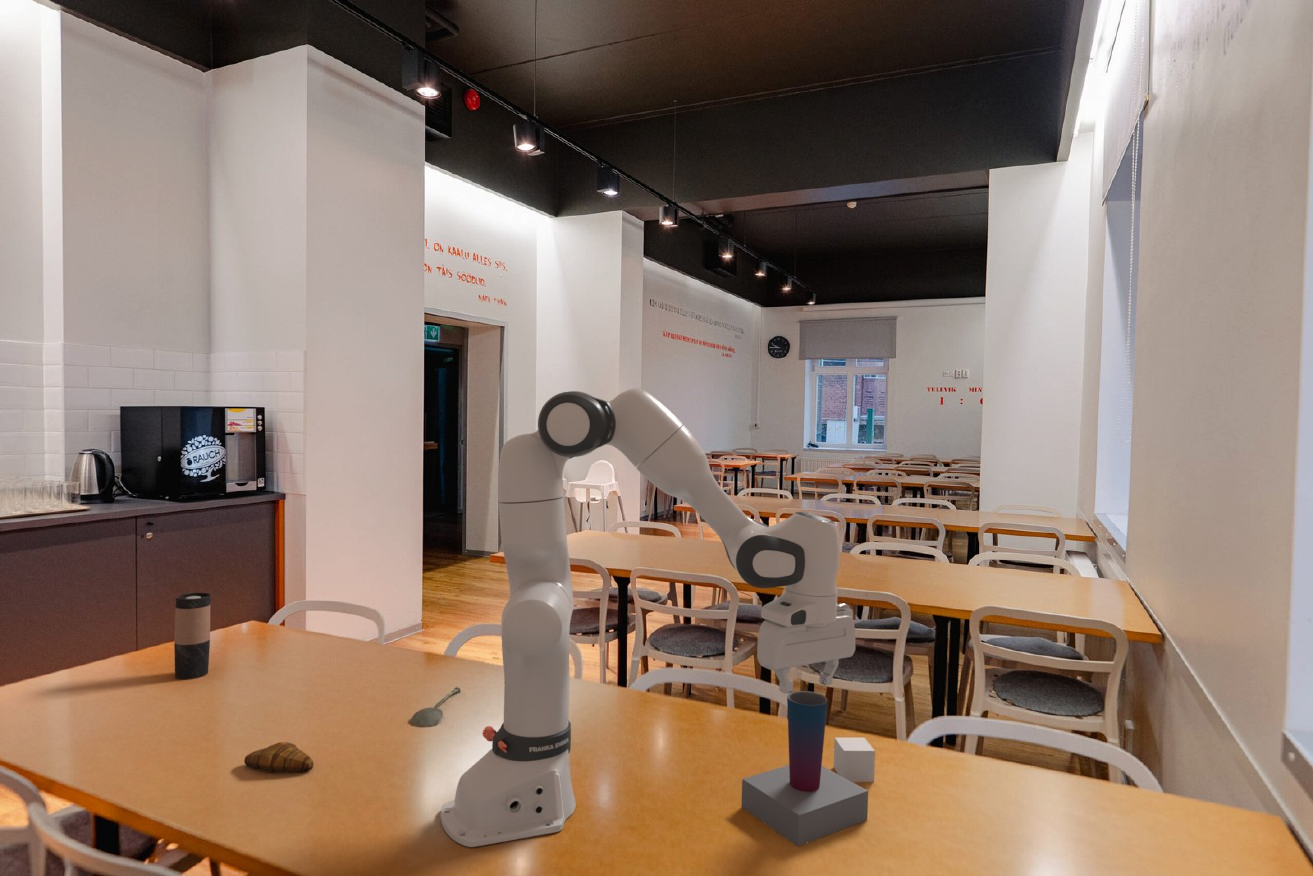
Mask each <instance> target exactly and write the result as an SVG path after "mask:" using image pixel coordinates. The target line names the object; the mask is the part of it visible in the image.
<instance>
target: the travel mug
mask: <svg viewBox="0 0 1313 876" xmlns="http://www.w3.org/2000/svg"><path fill="white" fill-rule="evenodd" d="M173 640H174V646H173V647H174V648H173V649H174V678H176V679H178V680H192V679H198V678H202V677H205V676H206V675H208V673H209V665H210V663H209V661H210V646H211V644H210V643H211V594H210V593H208V592H191V593H184V594H180V595H179V596H178V597H175V615H174V639H173Z"/></svg>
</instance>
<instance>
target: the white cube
mask: <svg viewBox="0 0 1313 876" xmlns="http://www.w3.org/2000/svg"><path fill="white" fill-rule="evenodd" d="M833 741H834V742H833V743H834V746H833V769H834V770H835V771H836V772H835V773H836V774H838V775H840V776H842V777H844V778H846V779H847V780H849V781H851V782H853V783H875V766H876V765H875V763H876V750H875V748H873V747H872V745H871V744H870V742H868V740H867V739H866V738H865V737H834V740H833Z"/></svg>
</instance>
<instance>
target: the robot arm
mask: <svg viewBox="0 0 1313 876" xmlns="http://www.w3.org/2000/svg"><path fill="white" fill-rule="evenodd" d="M605 445H607V446H612V447H614V448H616V449H617V450H618V451H619V452H621V453H622V454H623V455H624V456H625V458H627V460H628V461H630V462H631V464H632V465H633V466H634V467H635V468H636V470H638V472H639V473H640V474H641V475H642V476H643V477H644V478H645V479H646V480H647V481H649V482H650V483H651V484H652V485H654V486H655V487H656V488H658V489H659V490H660V492H661V491H662V492H663V493H664V494H666V495H667V496H671V497H673V498H676V499H679V500H680V501H682V502H685V504H687V505H688V506H690V507H691V508H692V509H693V510H694V511H695V512H696V513H697V514H698V515H699V516H700V517H701V518H702V519H703V520H704V522H705V523H706V524H707V525H709V527H710V528H711V529H712V531H713V532H714V533H715V534H716V535H717V536H718V537H719V539H720V540H721V541H722V544H723V546H724V551H725V554H726V557H727V558H728V560H729V563H730V565H731V566H732V568H734V569H735V571H736V572H737V574H738V575H739V576H740V578H741V579H742V580H743V581H744V582H745V583H746V584H748V585H750V586H751V587H754V588H757V589H771V588H773V589H774V588H779V587H784V588H785V590H784V594H781V595H780V596H778V597H777V598H775V599H774V600H772V601H770V602H768V603H766V604H764V605H763V606H762V607H761V610H760V616H761V618H762V619H764V621H762V623H761V624H760V627H759V629H758V630H759V631H758V635H757V636H758V637H757V648H756V649H757V650H756V659H757V661H758V664H760V667H761V666H762V667H763V668H765V669H768V670H770V671H774V673H775V675H776V677H777V679H778V682H779V683H778V684H779V685H778V690H779V691H780V693H782V694H789V693H791V692H794V691H793V690H794V689H793V688H794V682H793V681H791V680H789V678H788V677H789V676H788V675H789V674H790V669H791V668H795V667H796V668H797V667H800V666H806V665H813V664H817V663H819V664H820V663H823V662H824V663H825V665H824V668H823V670H822V672H819V679H818V681H819V683H820V684H821V685H824V686H828V685H829V686H830V685H833V682H834V681H833V680H834V679H833V678H834V674H835V673H836V670H837V669H838V667H839V663H840V662H839V661H840V659H846V658H851V657H853V655H854V654H855V651H856V629H855V622H854V621H855V620H854V619H853V618H854V612H853V609H852V608H851V607H850V606H849V605H848V603H839V604H838V594H839V592H838V586H837V575H838V571H840V555H841V554H840V551H841V550H840V533H839V529H838V526H837V525H836V524H835V522H834V521H833V520H832V519H830V518H828V517H825V516H822V515H820V514H816V513H812V512H805V511H794V513H793V514H791V515H790V517H787V518H785V519H784V520H782V521H779V522H777V523H775V524H773V525H770V526H769V525H767V524H766V523H763V522H761V521H758V520H756V519H754V518H751V517H749V516H748V515H747V514H746V513H745V512H744V511H743V510H742V509H741V508H740V507H739V506H738V504H737V503H736V502H734V501H733V499H732V498H731V497H730V496H729V495H728V494H727V493H726V492H725V490H724V489H723V488H722V487H721V486H720V484H719V483H718V481H717V480H716V478H715V477H714V474H713V472H712V470H711V467H710V463H709V459H708V457H707V454H706V453H705V451H704V449H703V448H702V446H701V445H700V443H699V442H698V440H697V439H696V437H695V436H694V435H693V433H692V432H691V431H690V429H688V427H687V426H686V425H685V424H683V421H681V420H680V419H679V418H678V416H676V415H675V414H674V413H673V412H672V411H671V409H669V408H668V407H667V406H666V405H664V403H662V402H661V401H660V400H659V399H657V398H656V397H655V396H653V395H652V394H651V393H649V392H648V391H646V390H644V389H642V388H630V389H627V390H625V391H622V392H621V393H620V394H618V395H617V396H615V397H614V398H613V399H612V400H610V401H606V400H604V399H600V398H597V397H595V396H593V395H592V394H589V393H586V392H584V391H577V390H571V391H563V392H560V393H557V394H555V395H553V396H552V397H551V398H549V399H548V400H546V402H545V403H544V404H543V406H542V407H541V409H540V411H539V414H538V418H537V430H536V431H534V432H532V433H531V432H530V433H525V434H520V435H516V436H514V437H511V438H510V439H509V440H507V441H506V442H505V443H504V444H503V446H502V447H501V450H500V454H499V464H498V472H497V473H498V476H497V497H498V513H499V526H500V528H499V529H500V540H501V550H502V554H503V557H504V561H505V565H506V573H507V578H508V584H509V598H508V599H509V600H508V601H507V602H506V604H505V605H504V607H503V610H502V613H501V621H500V623H501V625H500V626H501V653H502V665H503V676H504V679H503V680H504V689H503V691H504V693H503V722H502V724H501V726H500V728H499V729H498V730H497V731H496V729H494V727H492V726H491V725H488V726H485V727H484V728H483V730H482V737H483V738H484V739H485V740H486V741H487V742H492V743H491V749H489V751H488V752H487V753H485V754H484V755H483V756H482V757H481V758H480V759H479V760H478V761H477V762H475V763H474V764H473V765H472V766H470V767H469V768H468V769H467V770H466V771H465V772H464V773H463V774H462V775H461V776H460V778H459V780H458V782H457V786H456V789H455V795H454V796H455V797H454V799H452V800H451V801H448V802H444V803H443V805H442V806H441V809H440V816H439V818H440V819H439V820H440V824H441V826H442V828H443V830H444V831H445V832H446V834H447V835H448V836H449V837H450V839H452V840H453V841H455V842H456V843H457V844H460V845H462V846H464V847H467V848H476V847H481V846H486V845H493V844H498V843H503V842H509V841H514V840H519V839H527V838H531V837H532V838H533V837H535V836H536V837H537V836H542V835H543V836H544V835H547V834H548V835H549V834H553V833H558V832H560V831H561V830H563V829H564V825H565V821H567V819H568V818H569V817H570V816H571V815H572V814H573V813H574V812H575V809H576V806H577V802H576V801H577V800H576V798H575V794H574V790H573V785H572V778H571V769H570V757H569V756H570V752H571V749H572V748H571V745H572V727H571V726H572V724H571V722H570V720H569V719H570V718H569V715H570V689H571V688H570V687H571V686H570V685H571V682H570V680H571V677H570V627H571V619H572V615H573V610H574V603H575V601H574V594H573V592H574V591H573V582H572V572H571V563H570V554H569V549H568V547H569V546H568V539H567V525H566V524H567V523H566V509H565V497H564V496H565V494H564V482H563V476H564V467H565V465H566V463H567V462H568V460H569V459H573V458H575V457H576V458H577V457H582V456H583V457H584V456H586V455H589V454H590V453H591V454H592V452H594V451H595V450H596V449H598V448H601V447H603V446H605Z"/></svg>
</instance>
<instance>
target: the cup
mask: <svg viewBox="0 0 1313 876" xmlns="http://www.w3.org/2000/svg"><path fill="white" fill-rule="evenodd" d="M786 699H787V701H786V702H787V704H786V705H787V707H786V708H787V728H788V729H787V730H788V731H787V735H788V763H789V764H788V765H789V772H790V785H791V786H792V787H793V788H795V789H797V790H800V791H804V792H812V791H816V790H818V789H819V787H820V776H821V766H823V765H822V764H823V753H824V744H825V743H824V742H825V733H826V732H825V731H826V722H827V721H826V720H827V710H828V703H829V702H828V701H829V700H828V698H827V697H826V696H825V695H823V694H821V693H819V692H814V691H808V690H807V691H806V690H796V691H792V692H790V693H787V695H786Z"/></svg>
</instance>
